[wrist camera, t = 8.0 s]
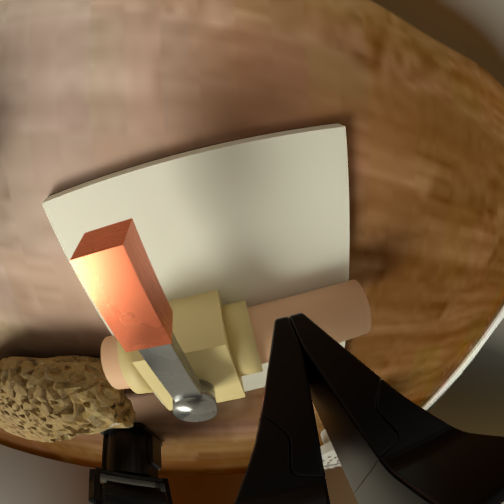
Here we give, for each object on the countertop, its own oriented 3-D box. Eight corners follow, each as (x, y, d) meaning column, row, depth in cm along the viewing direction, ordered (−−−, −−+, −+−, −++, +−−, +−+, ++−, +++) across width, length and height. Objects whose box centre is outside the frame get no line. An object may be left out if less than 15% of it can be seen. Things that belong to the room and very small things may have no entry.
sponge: (104, 321, 23) (-60, 346, 17) (117, 408, 18) (-68, 417, 12) (137, 384, 32) (0, 401, 26) (152, 446, 27) (3, 458, 21)
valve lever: (219, 394, 18) (222, 420, 17) (181, 401, 18) (182, 427, 17) (136, 216, 11) (128, 243, 10) (80, 234, 11) (65, 261, 10)
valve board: (163, 397, 28) (164, 448, 23) (47, 196, 16) (5, 245, 11) (339, 357, 29) (361, 404, 24) (338, 123, 17) (392, 148, 12)
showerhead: (401, 435, 30) (357, 467, 35) (380, 392, 36) (342, 428, 41) (341, 449, 27) (300, 479, 32) (322, 396, 33) (288, 434, 38)
